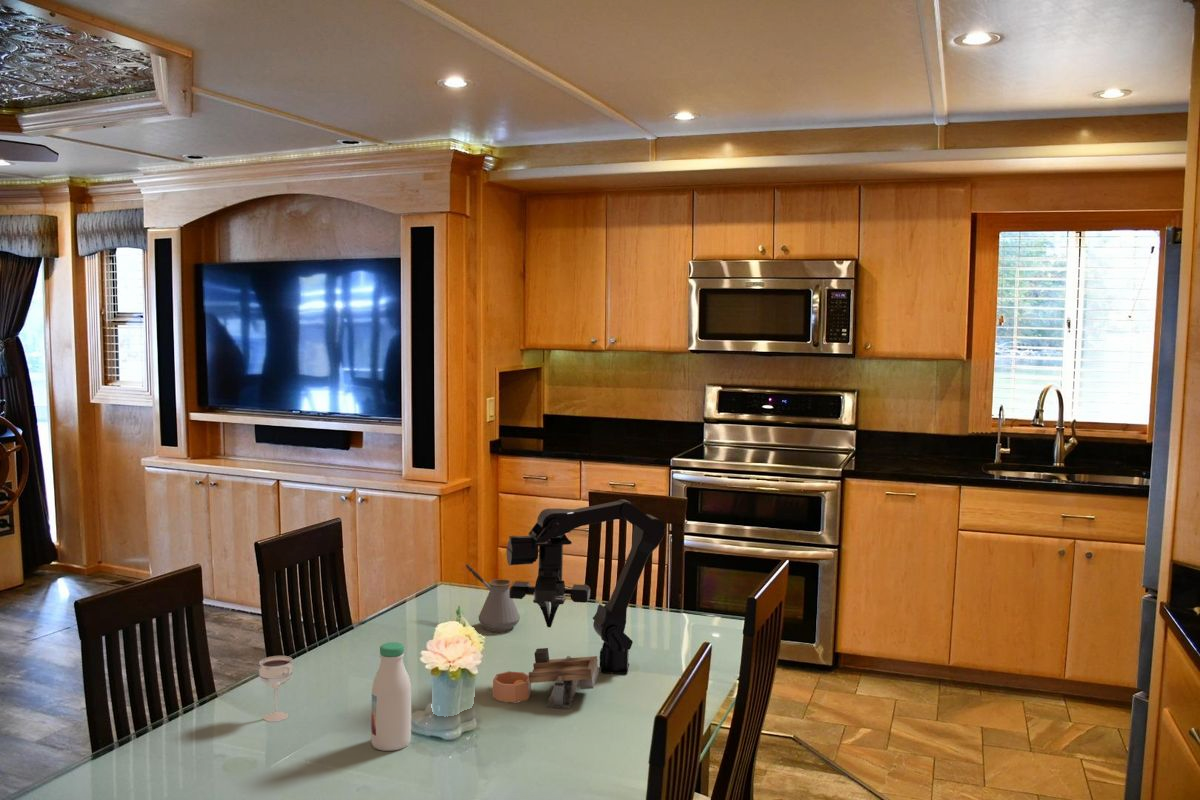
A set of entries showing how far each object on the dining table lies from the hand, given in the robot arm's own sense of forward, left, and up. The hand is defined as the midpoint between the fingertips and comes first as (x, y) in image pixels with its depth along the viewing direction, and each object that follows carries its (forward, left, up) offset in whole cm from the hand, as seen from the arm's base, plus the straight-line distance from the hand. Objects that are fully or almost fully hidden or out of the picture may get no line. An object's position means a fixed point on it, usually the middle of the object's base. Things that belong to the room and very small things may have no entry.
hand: (549, 626), depth 219 cm
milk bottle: (+25, +41, -12) cm, 49 cm away
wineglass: (+53, +33, -12) cm, 63 cm away
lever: (-6, +11, -9) cm, 15 cm away
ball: (+4, +13, -10) cm, 17 cm away
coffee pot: (+24, -36, -12) cm, 45 cm away
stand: (-5, +11, -12) cm, 17 cm away
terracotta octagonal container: (+6, +13, -12) cm, 19 cm away
